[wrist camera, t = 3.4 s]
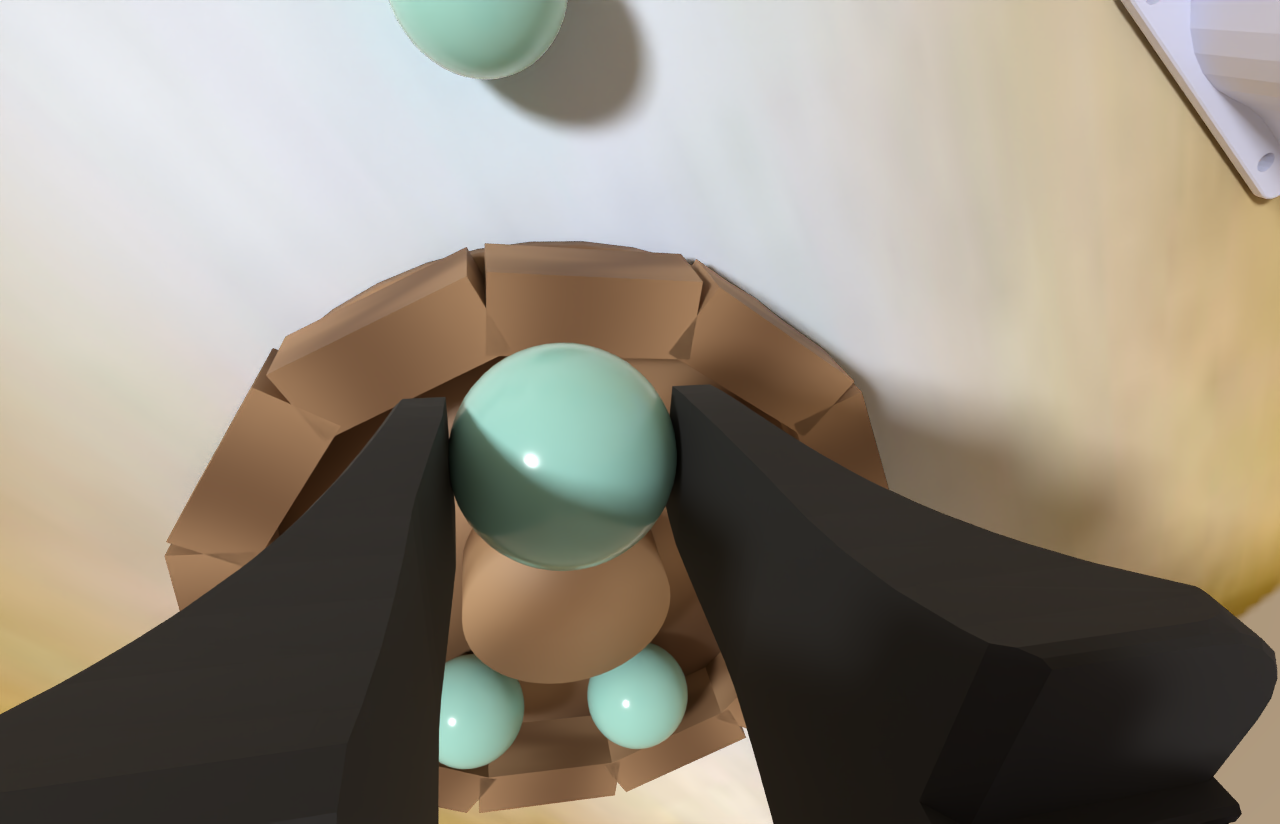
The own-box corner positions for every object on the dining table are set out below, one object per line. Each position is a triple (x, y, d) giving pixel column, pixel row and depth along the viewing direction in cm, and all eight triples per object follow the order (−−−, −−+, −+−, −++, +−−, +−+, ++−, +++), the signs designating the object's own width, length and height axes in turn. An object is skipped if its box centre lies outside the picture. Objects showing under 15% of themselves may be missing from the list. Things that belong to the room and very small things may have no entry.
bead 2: (655, 304, 12) (719, 408, 9) (642, 473, 13) (692, 607, 11) (440, 309, 11) (434, 425, 8) (455, 488, 13) (456, 635, 10)
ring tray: (961, 444, 24) (1018, 497, 22) (623, 784, 31) (636, 856, 28) (428, 66, 15) (421, 82, 13) (101, 657, 22) (52, 746, 19)
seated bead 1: (540, 648, 24) (549, 737, 22) (488, 709, 25) (490, 801, 23) (450, 619, 23) (448, 710, 20) (399, 685, 24) (390, 780, 21)
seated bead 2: (692, 636, 26) (720, 718, 23) (637, 695, 27) (657, 780, 24) (617, 608, 24) (637, 691, 21) (562, 671, 25) (574, 758, 22)
